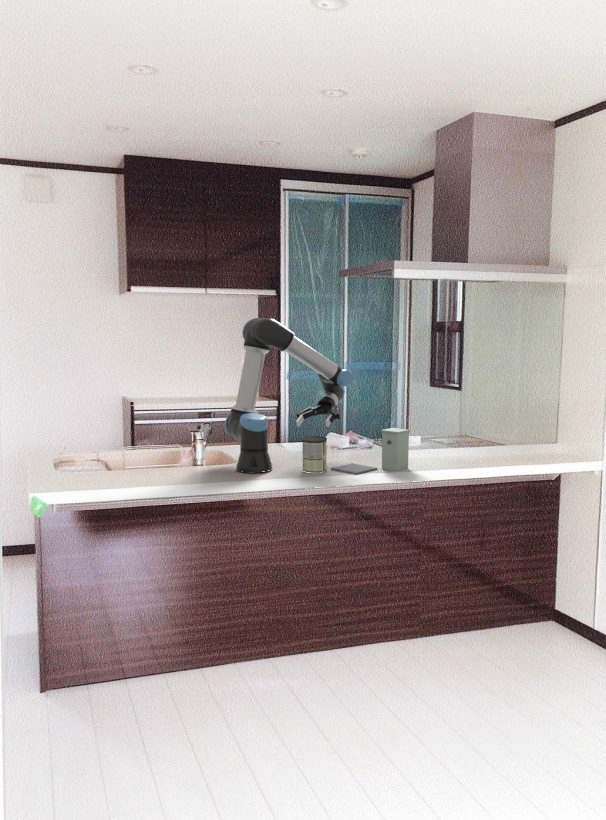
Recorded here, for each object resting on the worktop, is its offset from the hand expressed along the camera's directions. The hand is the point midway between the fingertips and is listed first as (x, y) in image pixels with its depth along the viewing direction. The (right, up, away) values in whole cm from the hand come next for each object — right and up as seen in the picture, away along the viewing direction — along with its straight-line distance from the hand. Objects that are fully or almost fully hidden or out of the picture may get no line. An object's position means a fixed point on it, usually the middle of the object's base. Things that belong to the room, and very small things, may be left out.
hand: (311, 424), depth 315 cm
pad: (+18, -19, -3) cm, 27 cm away
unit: (+36, -19, 0) cm, 40 cm away
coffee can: (+1, -20, -6) cm, 21 cm away
